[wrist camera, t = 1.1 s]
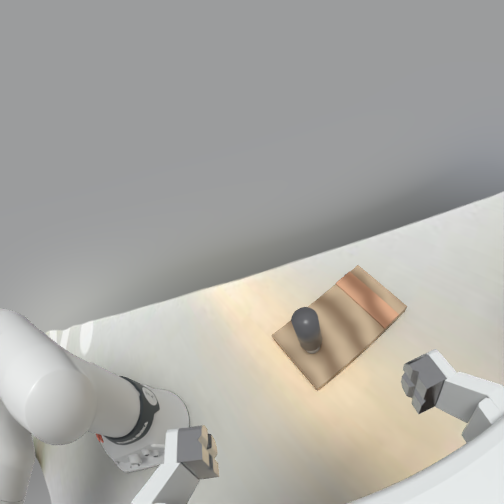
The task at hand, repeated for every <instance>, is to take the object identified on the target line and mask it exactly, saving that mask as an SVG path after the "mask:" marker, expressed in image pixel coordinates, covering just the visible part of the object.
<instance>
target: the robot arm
mask: <svg viewBox="0 0 504 504" xmlns="http://www.w3.org/2000/svg"><path fill="white" fill-rule="evenodd" d="M403 370H404V372H405V373H404V374H403V376H402V380H401V383H402V388H403V390H404V392H405V394H406V395H407V396H408V397H411V398H412V405H413V406H414V408H415V409H416V411H417V413H418V414H420V413H422V412H424V411H426V410H428V409H430V408H432V407H434V406H435V407H436V408H438V409H440V410H442V411H444V412H446V413H448V414H450V415H452V416H454V417H456V418H458V419H460V420H462V421H464V422H466V423H467V425H466V427H465V428H464V430H463V432H462V436H463V438H464V439H465V441H466V444H465V445H463V446H462V447H460V448H459V449H457V450H456V451H454V452H452V453H451V454H449V455H448V456H446V457H444V458H443V459H441V460H439V461H438V462H436V463H434V464H432V465H431V466H429V467H427V468H425V469H423V470H421V471H419V472H418V473H416V474H414V475H412V476H410V477H408V478H406V479H404V480H402V481H399V482H397V483H395V484H393V485H391V486H388V487H386V488H384V489H382V490H379V491H377V492H374V493H372V494H369V495H367V496H364V497H362V498H359V499H356V500H353V501H351V502H348V503H345V504H504V387H503V385H501V384H497V383H494V382H491V381H488V380H485V379H481V378H478V377H475V376H472V375H469V374H466V373H463V372H460V371H459V372H458V373H457V372H456V371H455V370H454V369H453V367H452V366H451V365H450V364H449V363H448V362H447V360H446V359H445V358H444V357H443V356H442V355H441V353H440V352H439V351H438V350H436V349H434V350H432V351H430V352H428V353H426V354H423V355H421V356H419V357H417V358H415V359H413V360H411V361H409V362H407V363H405V365H404V367H403ZM87 431H88V432H92V433H96V436H97V438H98V440H99V442H101V445H102V447H103V449H104V450H105V452H106V453H107V455H108V456H109V457H110V458H111V459H112V460H113V461H114V463H115V464H116V465H117V466H118V467H119V468H120V469H121V470H122V471H123V472H133V471H138V470H142V469H147V468H151V467H155V466H159V465H160V466H159V467H158V468H157V470H156V471H155V472H154V473H153V475H152V476H151V477H150V479H149V480H148V481H147V483H146V484H145V485H144V486H143V488H142V489H141V490H140V492H139V493H138V494H137V495H136V497H135V498H134V499H133V500H132V504H187V503H188V501H189V499H190V497H191V495H192V494H193V492H194V490H195V488H196V486H197V485H198V483H199V481H200V480H199V479H207V478H214V477H219V469H218V463H217V462H216V460H215V457H216V456H217V447H216V443H215V440H214V438H213V436H212V435H211V434H208V432H207V428H206V427H205V426H204V425H202V426H195V427H189V415H188V411H187V408H186V406H185V404H184V403H183V401H182V400H181V399H180V398H179V397H178V396H177V395H176V394H174V393H172V392H170V391H168V390H162V389H154V388H151V387H149V386H147V385H144V384H140V383H138V382H135V381H133V380H131V379H129V378H126V377H123V376H118V375H116V374H114V373H112V372H110V371H108V370H106V369H104V368H102V367H100V366H99V365H97V364H95V363H91V362H87V361H85V360H83V359H81V358H79V357H77V356H75V355H73V354H72V353H70V352H68V351H67V350H65V349H64V348H63V347H61V346H60V345H58V344H57V343H56V342H55V341H53V340H52V339H51V338H50V337H48V336H47V335H46V334H45V333H44V332H42V331H41V330H39V329H38V328H37V327H36V326H35V325H34V324H32V323H31V322H30V321H29V320H28V319H27V318H26V317H25V316H23V315H21V314H19V313H17V312H14V311H12V310H9V309H4V308H0V504H23V503H24V500H25V496H26V492H27V488H28V484H29V480H30V476H31V472H32V469H33V465H34V462H35V448H34V443H33V440H32V435H31V434H33V435H34V436H35V437H36V438H38V439H39V440H41V441H42V442H45V443H47V444H51V445H65V444H69V443H72V442H74V441H76V440H78V439H79V438H81V437H82V436H83V435H84V434H85V433H86V432H87ZM119 462H120V463H119Z"/></svg>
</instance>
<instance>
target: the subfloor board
mask: <svg viewBox="0 0 504 504" xmlns="http://www.w3.org/2000/svg"><path fill="white" fill-rule="evenodd" d="M308 308H312V309H313V310H315V312H316V313H317V315H318V320H319V325H320V330H321V335H322V344H321V347H320V350H319V351H318V352H317V353H314V354H310V353H308V352H307V351H306V350H304V349H303V348H302V347H301V345H300V343H299V340H298V338H297V335H296V333H295V330H294V328H293V325H292V322H291V321H290V322H288V323H287V324H286V325H285V326H283V327H282V328H281V329H279V330H278V331H277V332H275V333H274V334H273V335H272V337H273V339H274V340H275V341H276V342H277V343H278V345H279V346H280V347H281V348H282V349H283V351H284V352H285V353H286V354H287V355H288V356H289V358H290V359H291V360H292V361H293V362H294V364H295V365H296V366H297V367H298V368H299V369H300V371H301V372H302V373H303V374H304V375H305V376H306V378H307V379H308V380H309V381H310V382H311V383H312V385H313V386H314V387H315V388H316V389H317V390H319V389H320V388H322V387H323V386H324V385H325V384H327V383H328V382H329V381H330V380H331V379H333V378H334V377H335V376H336V375H337V374H339V373H340V372H341V371H342V370H343V369H344V368H346V367H347V366H348V365H349V364H350V363H351V362H352V361H354V360H355V359H356V358H357V357H358V356H359V355H360V354H361V353H362V352H363V351H365V350H366V349H367V348H368V347H369V346H370V345H371V344H372V343H373V342H374V341H375V340H376V339H377V338H378V337H379V336H380V335H381V334H382V333H384V332H385V331H386V330H387V329H388V328H389V327H390V326H391V325H392V324H393V323H394V322H395V321H396V319H397V318H398V317H399V316H400V315H401V314H402V313H403V312H404V311H405V310H406V308H407V306H406V305H405V304H404V303H402V302H401V301H400V300H399V299H398V298H397V297H395V296H394V295H393V294H392V293H391V292H390V291H388V290H387V289H386V288H385V287H384V286H383V285H381V284H380V283H379V282H378V281H377V280H375V279H374V278H373V277H372V276H371V275H369V274H368V273H367V272H366V271H365V270H363V269H362V268H361V267H360V266H358V265H357V266H356V267H355V268H354V269H353V270H352V271H350V272H348V273H347V274H346V275H345V276H344V277H343V278H341V279H340V280H339V281H338V282H337V283H336V284H335V285H334V286H333V287H332V288H330V289H329V290H328V291H327V292H326V293H324V294H323V295H322V296H321V297H320V298H318V299H317V300H316V301H315V302H314V303H312V304H311V305H310V306H309V307H308Z"/></svg>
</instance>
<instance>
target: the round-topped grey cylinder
mask: <svg viewBox="0 0 504 504" xmlns="http://www.w3.org/2000/svg"><path fill="white" fill-rule="evenodd" d="M291 322H292V325H293V328H294V330H295V333H296V335H297V338H298V340H299V343H300V345H301V347H302V348H303V349H304V350H306V351H307V352H308V353H310V354H314V353H317V352H318V351H319V350H320V347H321V344H322V335H321V330H320V325H319V320H318V315H317V313H316V312H315V310H313V309H312V308H308V307H303V308H300V309H298V310H296V311H295V312H294V314H293V315H292V319H291Z"/></svg>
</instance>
